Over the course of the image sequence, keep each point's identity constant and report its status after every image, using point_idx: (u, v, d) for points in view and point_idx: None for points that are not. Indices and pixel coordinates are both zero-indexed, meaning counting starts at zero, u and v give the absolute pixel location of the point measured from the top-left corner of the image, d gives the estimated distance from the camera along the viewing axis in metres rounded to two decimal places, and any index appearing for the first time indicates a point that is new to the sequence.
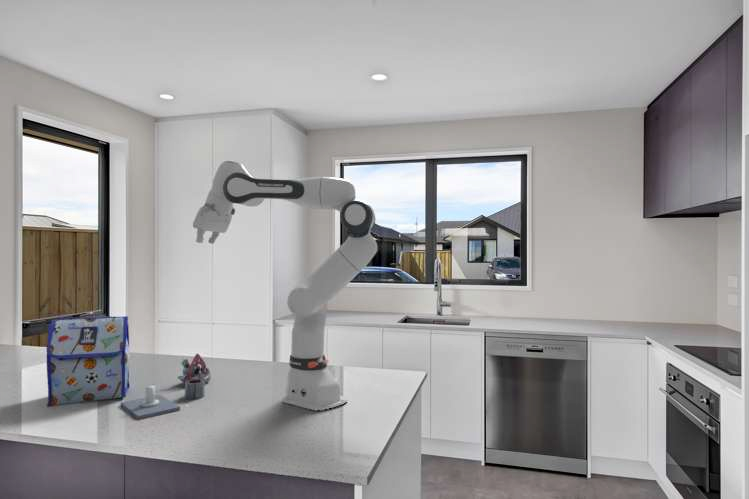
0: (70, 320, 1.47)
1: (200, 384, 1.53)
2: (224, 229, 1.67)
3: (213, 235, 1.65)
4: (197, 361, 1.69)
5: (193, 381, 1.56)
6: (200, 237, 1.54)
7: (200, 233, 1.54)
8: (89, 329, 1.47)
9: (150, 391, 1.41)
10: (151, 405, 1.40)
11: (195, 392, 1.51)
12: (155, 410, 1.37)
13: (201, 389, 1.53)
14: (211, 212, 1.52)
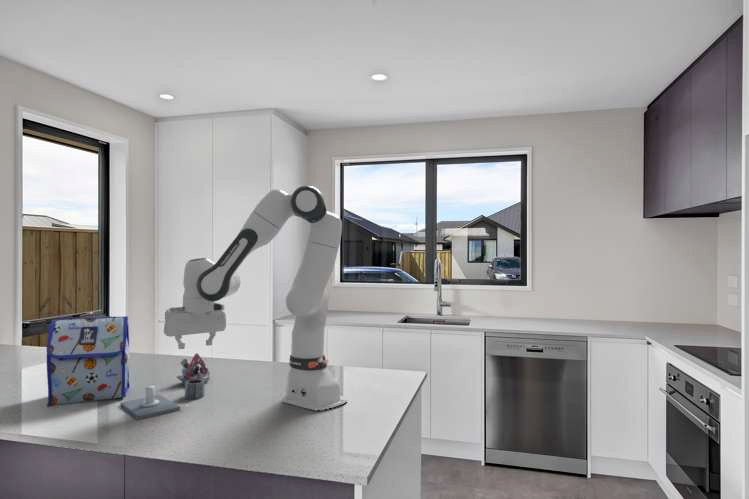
0: (70, 320, 1.47)
1: (200, 384, 1.53)
2: (219, 327, 1.58)
3: (210, 336, 1.58)
4: (196, 361, 1.70)
5: (193, 381, 1.56)
6: (179, 343, 1.50)
7: (177, 339, 1.50)
8: (89, 329, 1.47)
9: (150, 391, 1.41)
10: (151, 405, 1.40)
11: (195, 392, 1.51)
12: (155, 410, 1.37)
13: (201, 389, 1.53)
14: (177, 315, 1.48)
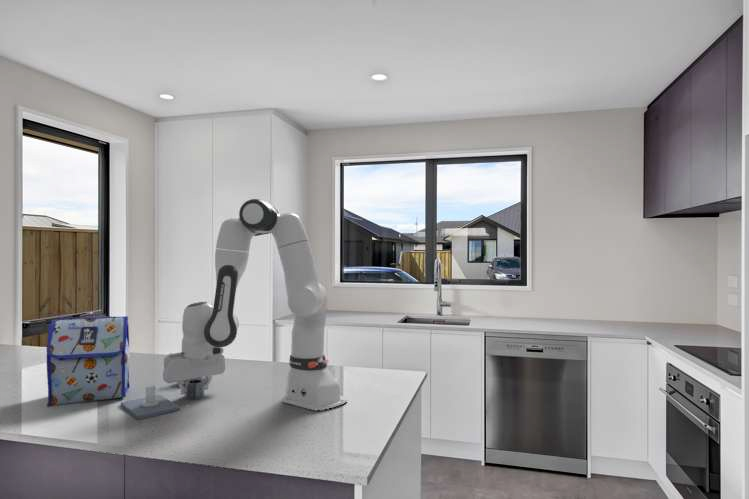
0: (70, 320, 1.47)
1: (200, 384, 1.53)
2: (219, 370, 1.58)
3: (206, 380, 1.57)
4: None
5: (193, 381, 1.56)
6: (181, 388, 1.51)
7: (179, 384, 1.50)
8: (89, 329, 1.47)
9: (150, 391, 1.41)
10: (151, 405, 1.40)
11: (195, 392, 1.51)
12: (155, 410, 1.37)
13: (201, 389, 1.53)
14: (176, 361, 1.48)
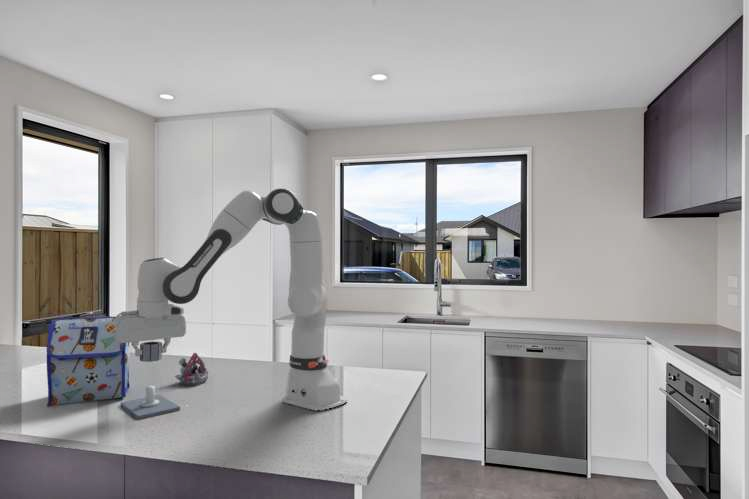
0: (70, 320, 1.47)
1: (156, 346, 1.41)
2: (178, 332, 1.46)
3: (164, 343, 1.46)
4: (194, 360, 1.70)
5: (150, 343, 1.44)
6: (136, 350, 1.39)
7: (133, 345, 1.38)
8: (89, 329, 1.47)
9: (150, 391, 1.41)
10: (151, 405, 1.40)
11: (150, 354, 1.40)
12: (155, 410, 1.37)
13: (158, 351, 1.41)
14: (129, 320, 1.36)
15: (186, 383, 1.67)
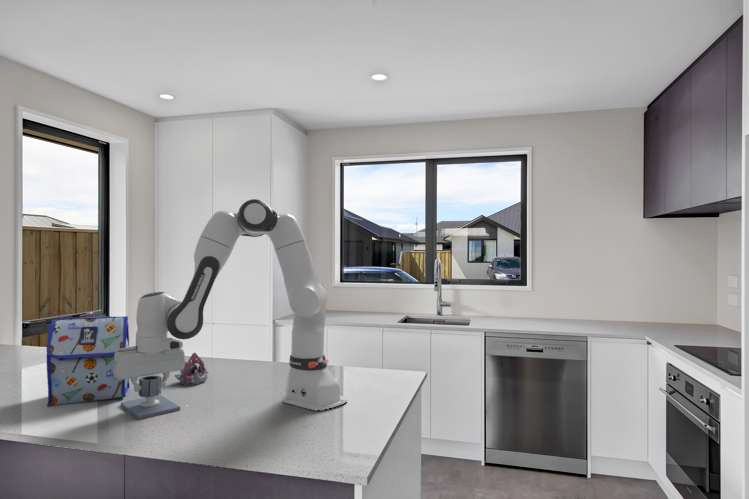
0: (70, 320, 1.47)
1: (155, 381, 1.41)
2: (177, 366, 1.46)
3: (164, 377, 1.46)
4: (194, 360, 1.71)
5: (149, 378, 1.44)
6: (135, 385, 1.39)
7: (132, 381, 1.38)
8: (89, 329, 1.47)
9: None
10: (151, 405, 1.40)
11: (150, 389, 1.40)
12: (155, 410, 1.37)
13: (157, 386, 1.41)
14: (128, 356, 1.36)
15: (185, 383, 1.67)
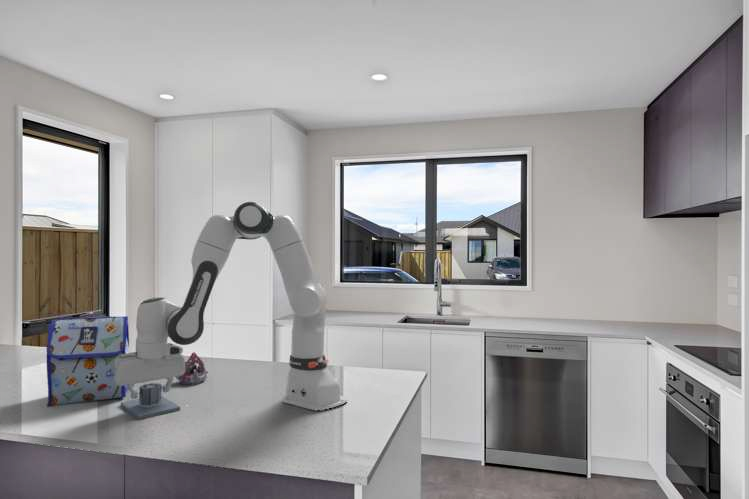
0: (70, 320, 1.47)
1: (155, 389, 1.41)
2: (178, 372, 1.46)
3: (167, 382, 1.46)
4: (193, 360, 1.71)
5: (149, 385, 1.44)
6: (131, 392, 1.38)
7: (128, 388, 1.37)
8: (89, 329, 1.47)
9: None
10: (151, 405, 1.40)
11: (150, 397, 1.40)
12: (155, 410, 1.37)
13: (157, 394, 1.41)
14: (128, 362, 1.36)
15: (185, 382, 1.68)
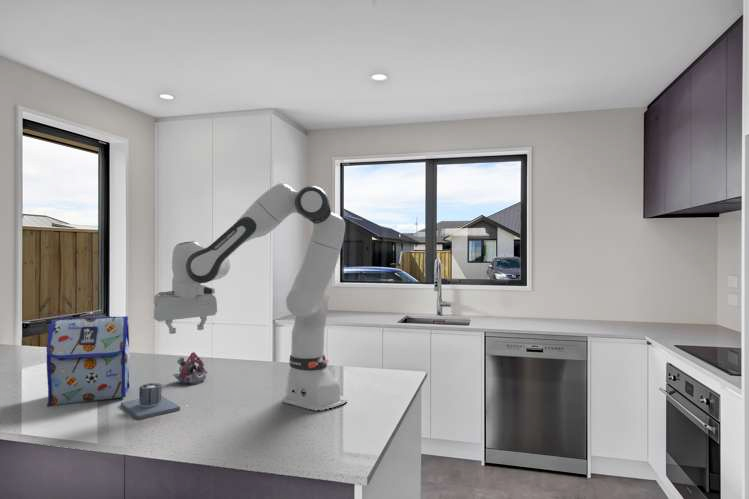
0: (70, 320, 1.47)
1: (155, 389, 1.41)
2: (210, 311, 1.57)
3: (201, 321, 1.57)
4: (193, 360, 1.71)
5: (149, 385, 1.44)
6: (170, 328, 1.48)
7: (167, 324, 1.48)
8: (89, 329, 1.47)
9: None
10: (151, 405, 1.40)
11: (150, 397, 1.40)
12: (155, 410, 1.37)
13: (157, 394, 1.41)
14: (167, 299, 1.46)
15: (184, 382, 1.68)
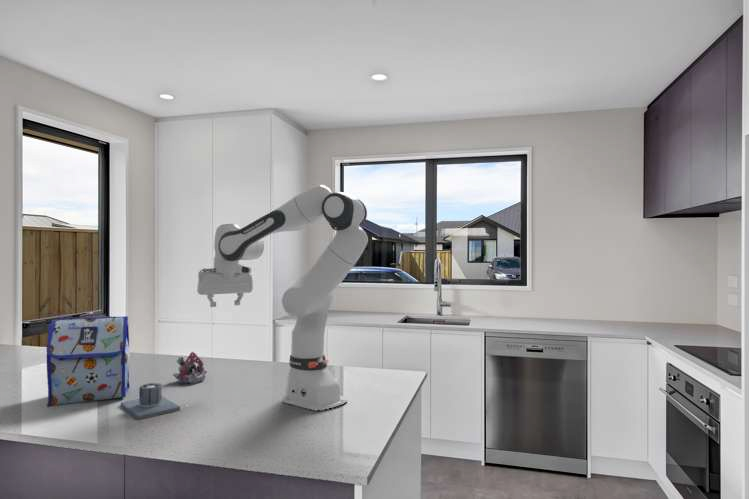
0: (70, 320, 1.47)
1: (155, 389, 1.41)
2: (247, 289, 1.71)
3: (238, 297, 1.71)
4: (192, 359, 1.72)
5: (149, 385, 1.44)
6: (211, 301, 1.63)
7: (209, 298, 1.63)
8: (89, 329, 1.47)
9: None
10: (151, 405, 1.40)
11: (150, 397, 1.40)
12: (155, 410, 1.37)
13: (157, 394, 1.41)
14: (209, 275, 1.61)
15: (183, 382, 1.69)
